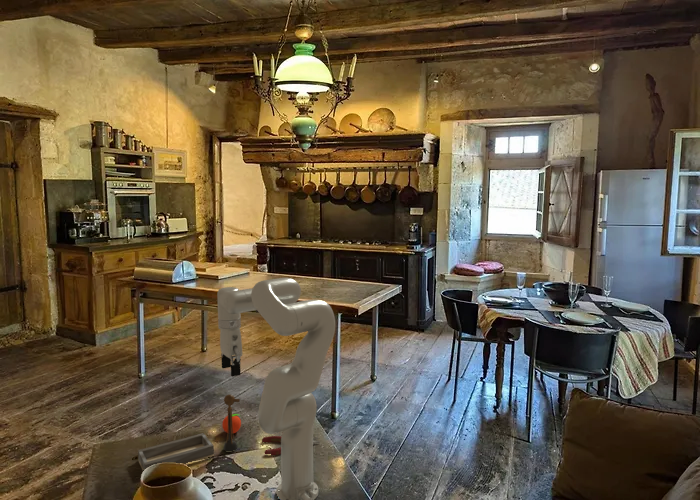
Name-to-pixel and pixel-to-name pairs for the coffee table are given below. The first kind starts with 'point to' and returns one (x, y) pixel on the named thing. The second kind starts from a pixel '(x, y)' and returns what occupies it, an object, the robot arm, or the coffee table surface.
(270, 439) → the pliers
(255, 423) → the coffee table surface
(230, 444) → the wooden tabletop sculpture
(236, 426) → the clementine
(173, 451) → the rectangular tray
